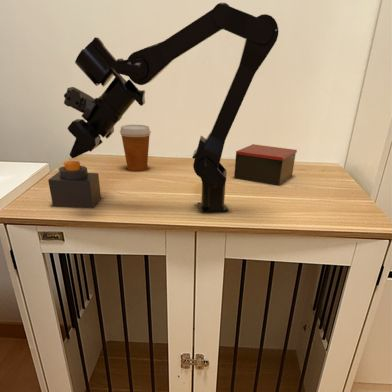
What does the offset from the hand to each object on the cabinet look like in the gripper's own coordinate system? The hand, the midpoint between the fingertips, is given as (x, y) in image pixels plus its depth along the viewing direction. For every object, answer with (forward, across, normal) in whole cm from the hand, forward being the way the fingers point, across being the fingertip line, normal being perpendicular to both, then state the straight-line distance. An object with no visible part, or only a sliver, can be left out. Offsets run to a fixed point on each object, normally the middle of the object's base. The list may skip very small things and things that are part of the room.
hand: (71, 156), depth 97 cm
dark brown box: (-27, -33, +42) cm, 60 cm away
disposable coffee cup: (+2, -37, +14) cm, 39 cm away
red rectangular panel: (-32, -33, +38) cm, 59 cm away
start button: (+2, 0, +2) cm, 3 cm away
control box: (+8, 0, +8) cm, 11 cm away
